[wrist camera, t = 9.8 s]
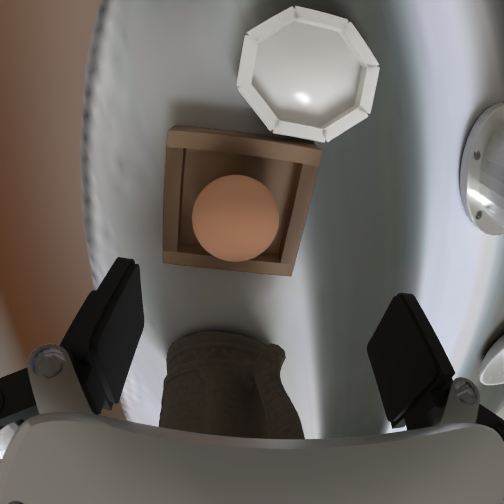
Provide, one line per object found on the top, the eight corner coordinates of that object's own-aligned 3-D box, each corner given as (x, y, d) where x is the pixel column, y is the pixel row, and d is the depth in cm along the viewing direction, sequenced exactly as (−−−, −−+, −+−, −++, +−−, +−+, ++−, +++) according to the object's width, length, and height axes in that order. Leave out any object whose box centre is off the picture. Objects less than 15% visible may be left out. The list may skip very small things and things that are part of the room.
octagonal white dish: (372, 36, 15) (385, 32, 13) (350, 145, 19) (361, 151, 17) (250, 6, 14) (251, -2, 12) (230, 123, 18) (230, 127, 16)
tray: (314, 144, 19) (322, 150, 17) (287, 261, 23) (291, 276, 21) (174, 125, 18) (167, 130, 16) (168, 248, 22) (162, 263, 20)
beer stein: (245, 399, 33) (253, 559, 16) (156, 377, 30) (133, 549, 13) (315, 313, 26) (373, 543, 9) (198, 275, 23) (168, 562, 6)
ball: (281, 171, 19) (293, 199, 14) (267, 240, 21) (273, 283, 17) (201, 160, 18) (188, 186, 14) (195, 231, 21) (183, 273, 16)
